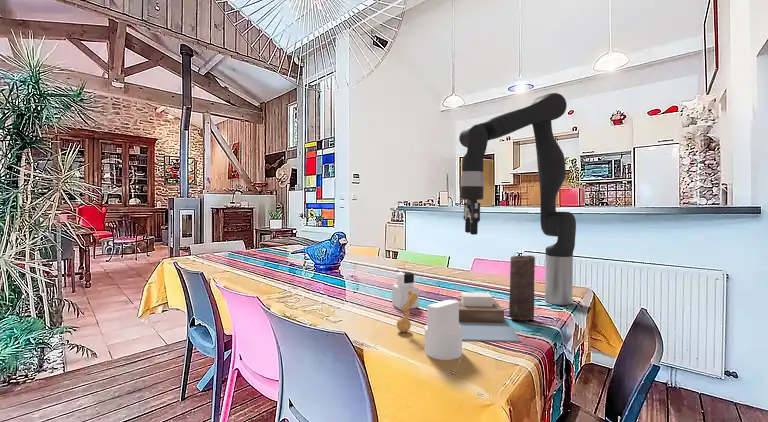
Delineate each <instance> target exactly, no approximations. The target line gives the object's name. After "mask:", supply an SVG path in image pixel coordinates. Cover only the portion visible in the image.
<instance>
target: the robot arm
mask: <svg viewBox="0 0 768 422" xmlns="http://www.w3.org/2000/svg"><path fill="white" fill-rule="evenodd" d="M567 106H568V105H567V100H566V98H565V97H564V95H562V94H560V93H558V92H553V93H552V92H551V93H547V94H544V95H541V96H538V97H536V98H534V99H532V102H531V103H530V105H528V106H526V107H523V108H519V109H516V110H512V111H508V112H505V113H502V114H500V115H497V116H495V117H492V118H489V119H488V120H486V121H484V122H480V123H476V124H474V125H471V126H468V127H466V128H464V129H463V130H461V132H460V134H459V138H458V140H459V143H460V144H461V146H463V147H465V148H467V149H466V153H465V154H464V155H463V157H462V160H461V161H462V162H461V176H460V199H461V200H465V201H466V202H463V221H464V232H465V233H468V234H469V233H470V234H471V235H473V236H474V235H478V230H479V229H478V226H479V222H480V221H481V203H480V202H478V201H479V200H483V199H484V189H485V188H484V187H485V186H484V183H485V182H484V181H485V179H484V159H485V155H486V151H487V146H488V142H489V141H492V140H496V139H498V138H502V137H504V136H507V135H509V134H512V133H514V132H516V131H519V130H522V129H523V128H526V127H529V126H531V125H532V129H533V133H534V142H535V151H536V159H537V174H538V181H539V182H538V183H539V195H540V206H539V207H540V213H539V214H540V219H539V221H540V229H541V231H542V233H543V234H544V235H545V236H547V237H555V238H556V237H557V240H556V242H555V243H554V244H552V245H549V246H547V247H545V253H544V254H545V259H544V260H545V262H544V263H545V266H544V267H545V270H544V272H545V273H544V274H545V277H544V280H545V281H544V283H545V284H544V301H545V302H546V303H549V304H551V305H558V306H559V305H560V306H567V305H568V306H569V305H572V304H573V284H574V282H573V281H574V278H573V276H574V275H573V274H574V271H573V270H574V256H573V255H574V250H575V248H576V233H577V222H576V221H577V219H576V218H575V215H574V214H573V213H572V212H569V211H557V208H556V205H557V204H556V201H557V197H558V193H559V191H560V189H561V187H562V186H563V183H564V181H565V179H566V175H567V172H566V171H567V170H566V169H567V168H566V159H565V155H564V151H563V150H562V149H561V148H562V147H560V145H559V144H558V142H557V140H556V138H555V137H554V132H553V127H552V121H555V120H557V119H560V117H562V116H564V114H565V113H566V110H567Z"/></svg>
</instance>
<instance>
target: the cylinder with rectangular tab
mask: <svg viewBox="0 0 768 422" xmlns="http://www.w3.org/2000/svg"><path fill="white" fill-rule="evenodd" d="M455 300H456V299H446V300H441V301H438V302H435V303H431V304H427V309H426V312H427V317H426V318H427V321H426V325H425V326H424V353H425V355H427V356H428V357H430V358H432V359H435V360H441V361H442V360H444V361H445V360H447V361H448V360H449V361H450V360H455V359H458V358H461V357H462V355H463V341H462V328H461V327H460V326H459V301H455Z"/></svg>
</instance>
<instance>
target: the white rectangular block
mask: <svg viewBox="0 0 768 422" xmlns="http://www.w3.org/2000/svg"><path fill="white" fill-rule="evenodd" d="M493 298H494V297H493V296H492V295H491V293H490V292H475V291H474V292H473V291H472V292H470V291H467V292H465V291H463V292H462V291H461V293H460V300H461V302H462V304H463V306H486V307H493V301H494V300H493Z"/></svg>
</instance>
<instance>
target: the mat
mask: <svg viewBox="0 0 768 422" xmlns="http://www.w3.org/2000/svg"><path fill="white" fill-rule="evenodd" d="M459 326H460V327H461V328H462V342H463V341H465V342H499V343H500V342H503V343H504V342H505V343H506V342H507V343H522V339H521V338H520V337H519V335H518V334H517V333H516V332H515V330H514V329H513V328H512V326H511V325H510V324H509V323H507V322H504V323H477V322H459Z"/></svg>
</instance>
